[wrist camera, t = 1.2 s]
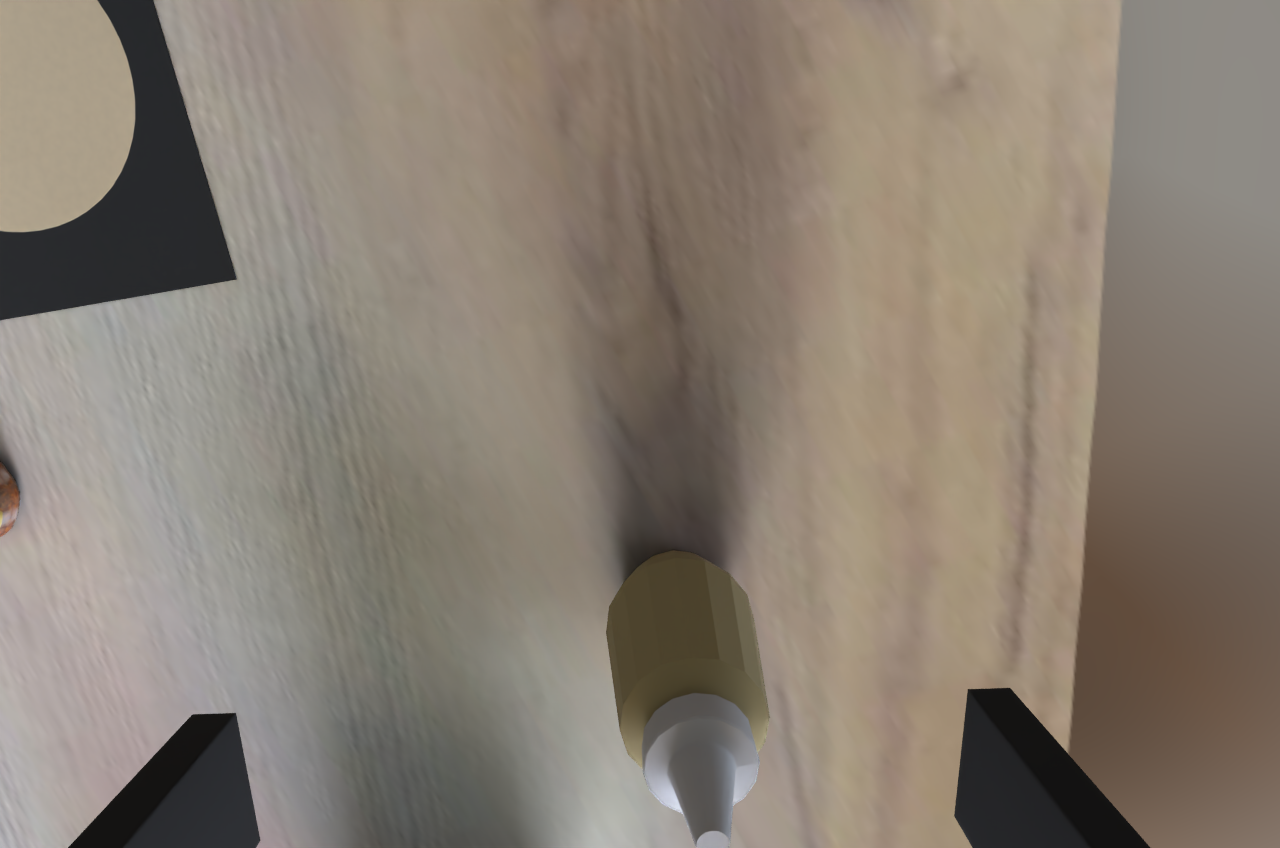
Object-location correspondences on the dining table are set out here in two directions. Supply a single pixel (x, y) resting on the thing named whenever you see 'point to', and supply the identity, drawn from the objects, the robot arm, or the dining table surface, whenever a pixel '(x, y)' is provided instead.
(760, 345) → the dining table surface
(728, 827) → the squeeze bottle
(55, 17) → the mat
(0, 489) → the sauce bottle
